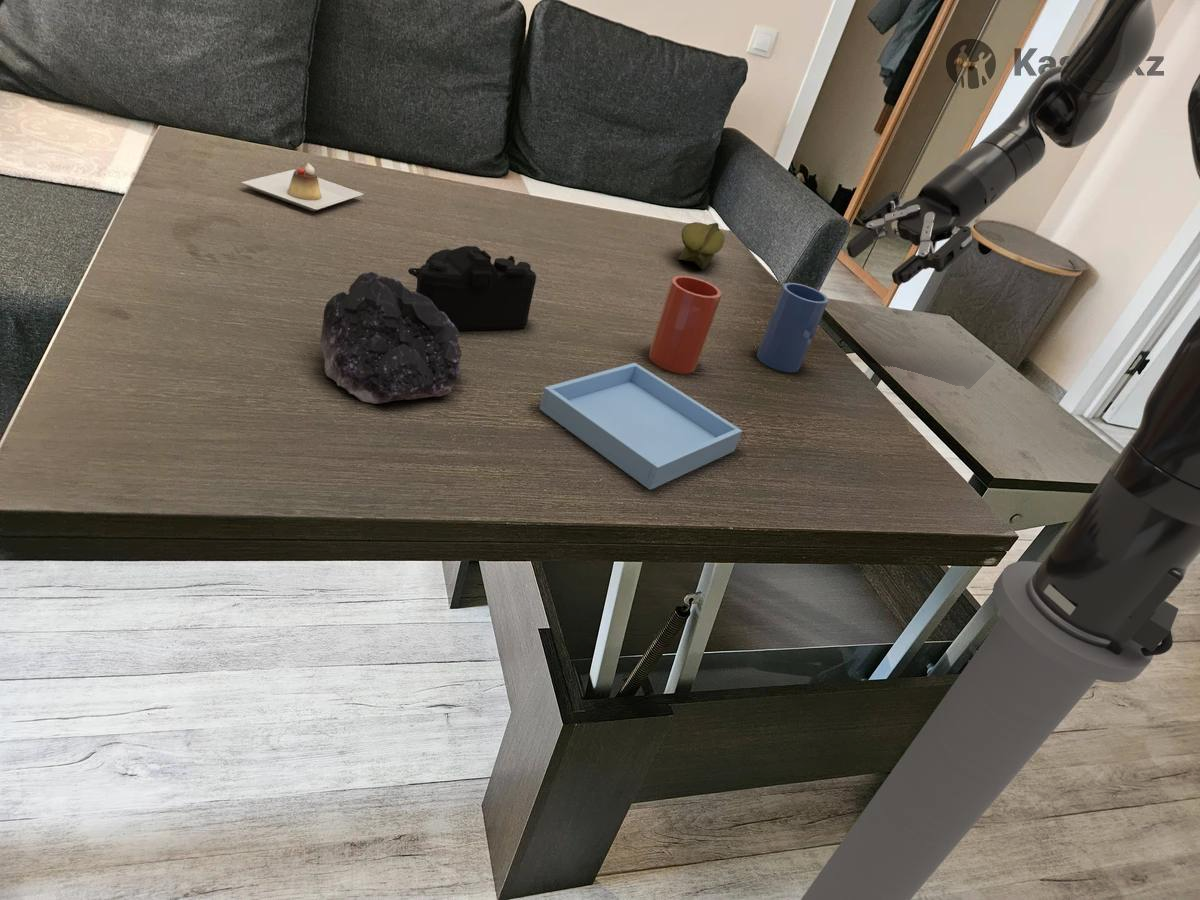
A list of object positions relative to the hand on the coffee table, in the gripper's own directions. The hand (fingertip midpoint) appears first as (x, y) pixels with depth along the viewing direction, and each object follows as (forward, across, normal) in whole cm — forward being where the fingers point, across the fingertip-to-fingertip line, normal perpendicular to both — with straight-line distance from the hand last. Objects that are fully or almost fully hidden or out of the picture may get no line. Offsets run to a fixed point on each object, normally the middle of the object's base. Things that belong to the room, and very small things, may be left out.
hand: (871, 266), depth 104 cm
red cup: (+29, -1, -9) cm, 30 cm away
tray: (+38, +13, -19) cm, 45 cm away
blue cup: (+17, 0, +3) cm, 17 cm away
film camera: (+45, -13, -25) cm, 54 cm away
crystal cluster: (+54, 0, -34) cm, 64 cm away
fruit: (+10, -34, +10) cm, 37 cm away
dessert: (+53, -51, -32) cm, 80 cm away
